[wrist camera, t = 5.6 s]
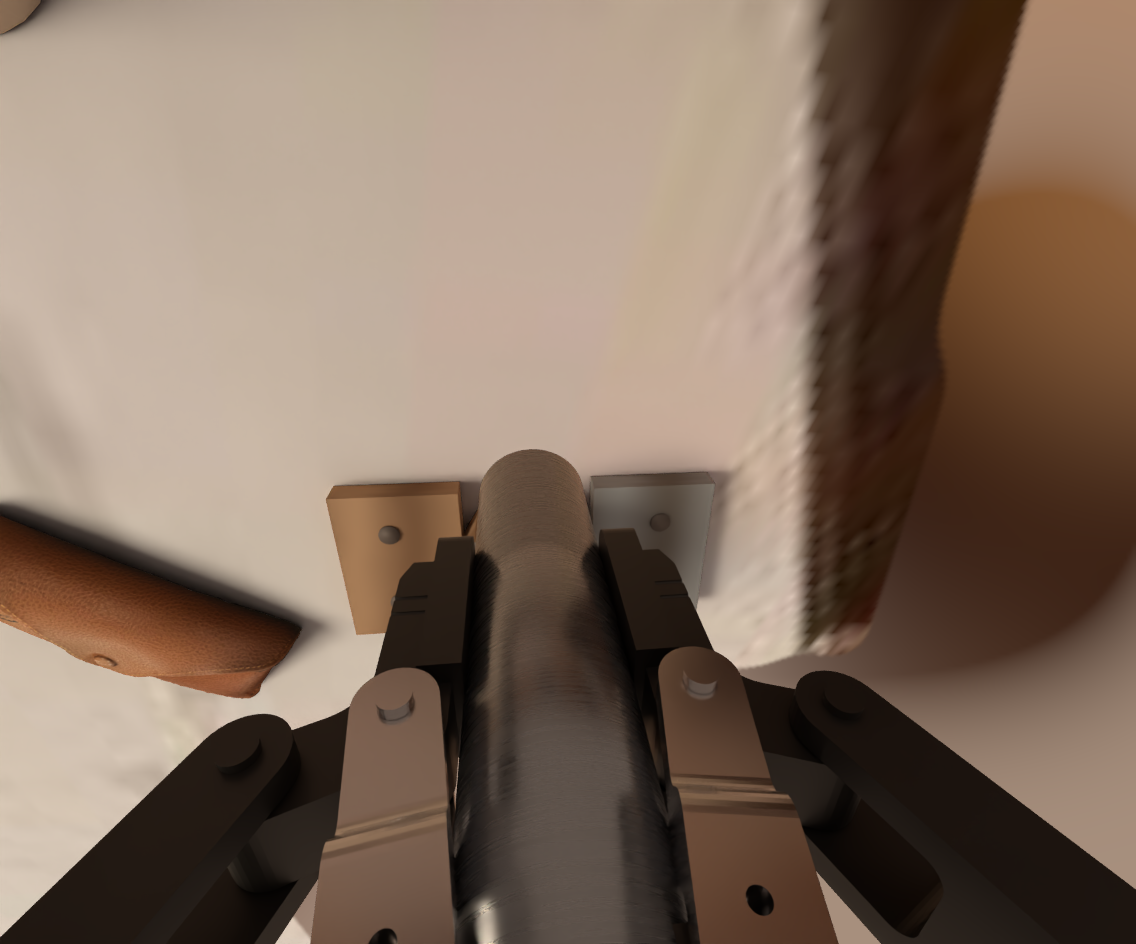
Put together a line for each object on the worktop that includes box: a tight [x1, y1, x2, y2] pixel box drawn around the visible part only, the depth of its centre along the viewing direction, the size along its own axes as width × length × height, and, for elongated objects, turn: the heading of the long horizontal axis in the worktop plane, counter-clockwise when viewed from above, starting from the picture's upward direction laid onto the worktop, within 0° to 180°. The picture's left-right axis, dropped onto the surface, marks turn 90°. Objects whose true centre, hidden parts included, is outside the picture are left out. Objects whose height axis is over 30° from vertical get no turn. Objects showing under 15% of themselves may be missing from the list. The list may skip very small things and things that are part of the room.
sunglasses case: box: [0, 515, 302, 698], centre depth 33 cm, size 18×7×7 cm, turn 56°
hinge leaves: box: [326, 472, 715, 635], centre depth 32 cm, size 22×10×7 cm, turn 90°
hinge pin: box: [453, 449, 688, 944], centre depth 10 cm, size 3×3×12 cm
